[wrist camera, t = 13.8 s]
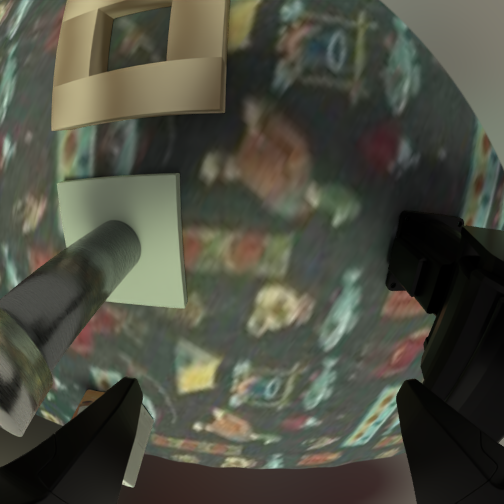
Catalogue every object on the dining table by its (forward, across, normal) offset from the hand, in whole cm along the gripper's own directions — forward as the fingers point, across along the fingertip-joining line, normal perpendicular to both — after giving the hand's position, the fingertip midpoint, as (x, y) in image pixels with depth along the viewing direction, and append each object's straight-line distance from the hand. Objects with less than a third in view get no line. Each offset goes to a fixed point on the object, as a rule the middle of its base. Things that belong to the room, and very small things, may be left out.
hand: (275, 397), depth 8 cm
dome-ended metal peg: (+12, +11, 0) cm, 16 cm away
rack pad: (+13, +11, 0) cm, 17 cm away
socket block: (+13, +9, -15) cm, 22 cm away
